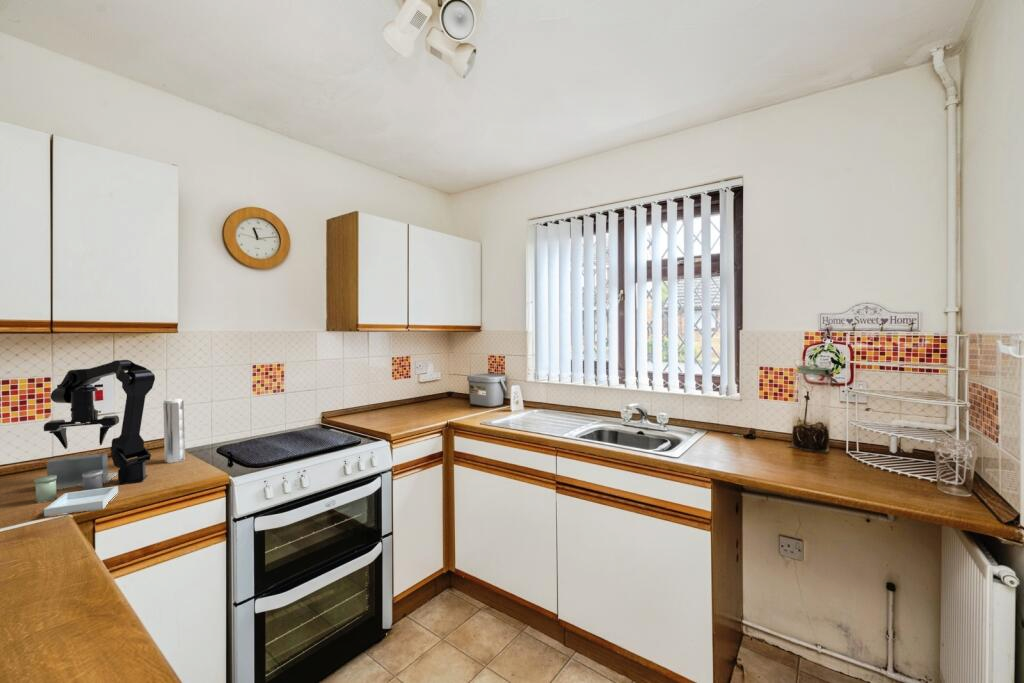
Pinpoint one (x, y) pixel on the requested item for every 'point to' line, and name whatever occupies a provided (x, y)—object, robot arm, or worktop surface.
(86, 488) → the grey cup
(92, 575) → the worktop surface
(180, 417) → the silver metal cylinder
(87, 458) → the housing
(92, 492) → the tray
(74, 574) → the worktop surface
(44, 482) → the cylinder
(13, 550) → the worktop surface
